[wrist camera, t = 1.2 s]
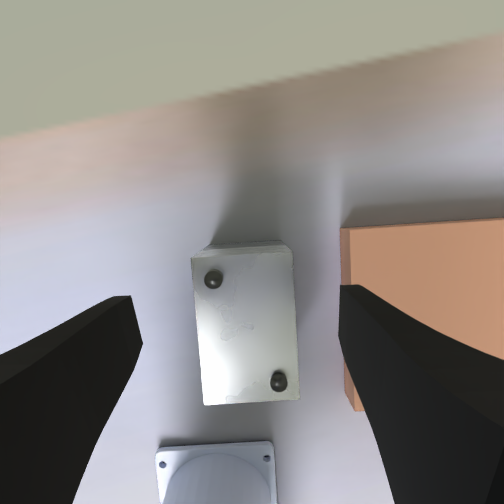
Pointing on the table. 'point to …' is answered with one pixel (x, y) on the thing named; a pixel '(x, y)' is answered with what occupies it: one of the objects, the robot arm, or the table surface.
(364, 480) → the table surface
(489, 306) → the stand
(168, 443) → the table surface
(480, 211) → the table surface
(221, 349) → the block
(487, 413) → the robot arm
